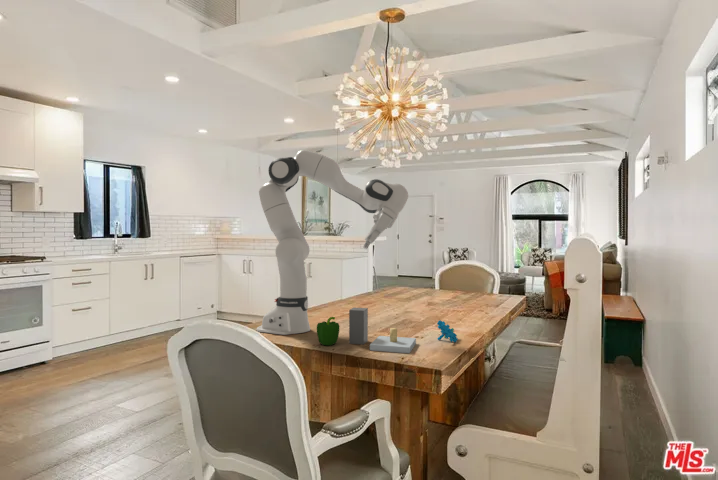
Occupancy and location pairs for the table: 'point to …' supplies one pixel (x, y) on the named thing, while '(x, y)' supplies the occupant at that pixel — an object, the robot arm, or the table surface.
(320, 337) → the bell pepper
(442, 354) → the table surface
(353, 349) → the table surface
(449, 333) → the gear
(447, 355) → the table surface
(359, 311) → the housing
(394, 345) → the base plate
